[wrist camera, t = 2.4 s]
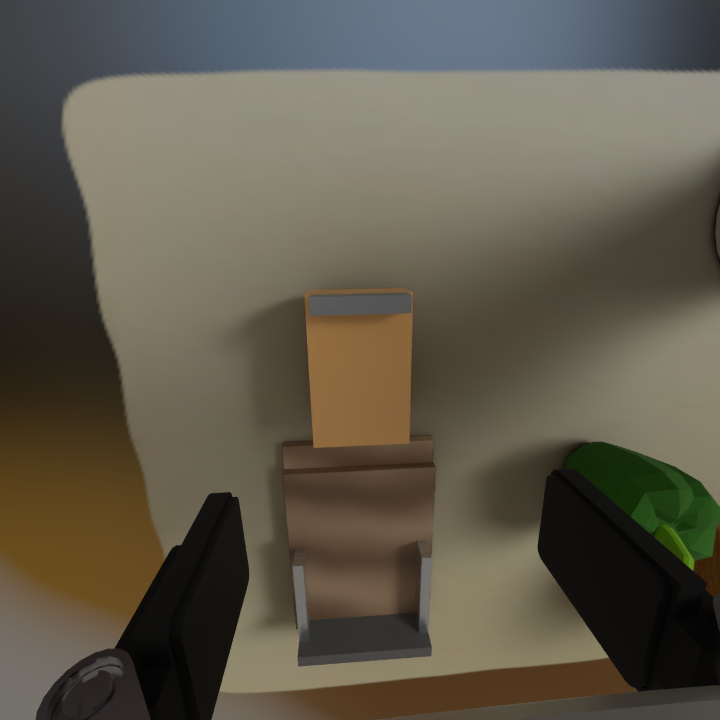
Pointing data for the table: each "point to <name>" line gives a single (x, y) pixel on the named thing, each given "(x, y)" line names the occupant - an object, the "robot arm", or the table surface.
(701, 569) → the disposable coffee cup
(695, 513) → the bell pepper
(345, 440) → the orange block
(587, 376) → the table surface
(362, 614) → the loading dock
